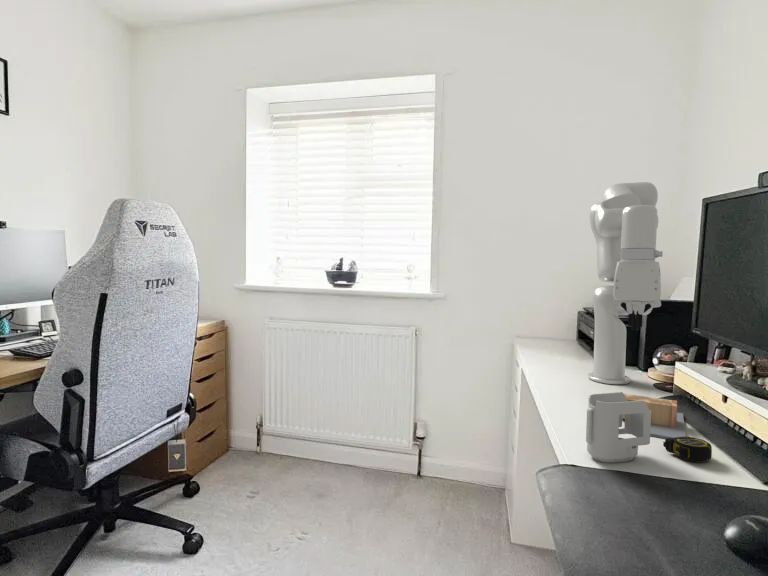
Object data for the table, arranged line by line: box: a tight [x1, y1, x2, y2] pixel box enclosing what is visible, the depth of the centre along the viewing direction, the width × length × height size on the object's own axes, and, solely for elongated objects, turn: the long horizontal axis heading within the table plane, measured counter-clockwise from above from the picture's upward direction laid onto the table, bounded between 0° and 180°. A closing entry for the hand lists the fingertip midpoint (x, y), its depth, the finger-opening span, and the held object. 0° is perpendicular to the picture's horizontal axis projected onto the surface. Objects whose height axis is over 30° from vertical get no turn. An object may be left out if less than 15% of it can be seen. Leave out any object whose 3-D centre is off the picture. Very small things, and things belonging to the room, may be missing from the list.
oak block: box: [622, 392, 678, 427], centre depth 110 cm, size 5×5×12 cm
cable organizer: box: [585, 391, 651, 464], centre depth 90 cm, size 7×13×12 cm, turn 103°
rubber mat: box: [650, 412, 687, 440], centre depth 109 cm, size 20×12×1 cm, turn 147°
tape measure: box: [662, 436, 713, 463], centre depth 90 cm, size 7×7×4 cm
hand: (634, 329), depth 111 cm, fingers closed
